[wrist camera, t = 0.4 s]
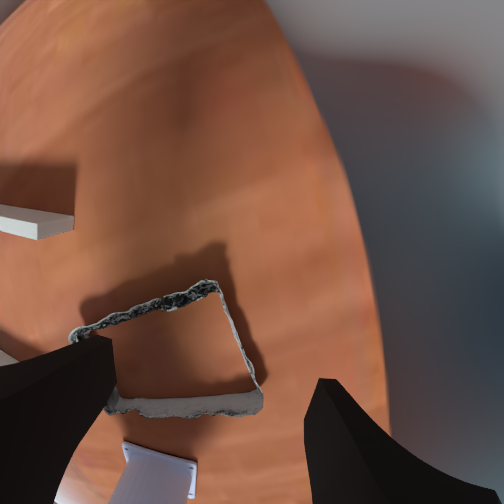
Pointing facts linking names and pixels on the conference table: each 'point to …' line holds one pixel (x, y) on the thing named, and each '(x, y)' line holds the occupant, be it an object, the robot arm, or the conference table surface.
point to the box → (31, 233)
